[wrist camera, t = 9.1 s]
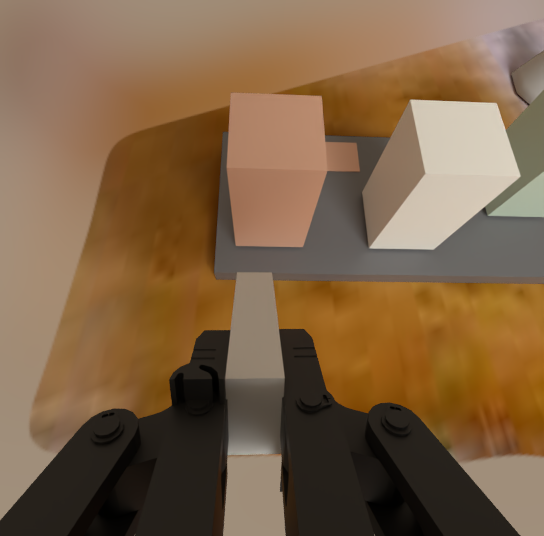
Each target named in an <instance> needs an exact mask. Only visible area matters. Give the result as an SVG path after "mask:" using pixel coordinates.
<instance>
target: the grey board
mask: <svg viewBox="0 0 544 536" xmlns="http://www.w3.org/2000/svg"><path fill="white" fill-rule="evenodd" d="M228 134H229V132H223V141H222V156H221V172H220V188H219V204H218V219H217V235H216V251H215V267H214V274H215V277H216V279H228V280H236V278H237V272H272V277H273V280H302V281H376V282H451V283H525V284H544V217H517V216H487V212H486V208H485V207H484V208H483V209H481V210H480V211H479V212H478V213H477V214H475V215H474V216H473V217H472V218H471V219H469V220H468V221H467V222H466V223H465V224H464V225H462V226H461V227H460V228H459V229H458V230H456V231H455V232H454V233H453V234H452V235H450V236H449V237H448V238H447V239H446V240H444V241H443V242H442V243H441V244H440V245H438V246H437V247H436V248H435V249H434V250H428V249H374V248H369V245H368V237H367V228H366V220H365V212H364V203H363V195H362V191H363V190H364V188H365V186H366V184H367V182H368V180H369V178H370V176H371V174H372V172H373V170H374V168H375V167H376V165H377V163H378V161H379V159H380V157H381V155H382V153H383V151H384V149H385V147H386V145H387V143H388V142H389V140H390V138H385V137H356V136H327V135H325V145H326V158H327V170H328V171H327V174H326V177H325V180H324V183H323V186H322V189H321V193H320V196H319V199H318V202H317V205H316V208H315V211H314V214H313V217H312V221H311V224H310V227H309V230H308V233H307V236H306V239H305V242H304V245H303V247H264V246H236V244H235V235H234V227H233V218H232V210H231V201H230V192H229V184H228V175H227V152H228Z"/></svg>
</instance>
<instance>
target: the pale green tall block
mask: <svg viewBox="0 0 544 536" xmlns="http://www.w3.org/2000/svg"><path fill="white" fill-rule="evenodd" d="M506 133H507V136H508V139H509V142H510V145H511V148H512V151H513V154H514V157H515V160H516V163H517V166H518V169H519V172H520V176H521V177H520V178H518V179H517V180H516V181H515V182H514V183H512V184H511V185H510V186H509V187H508V188H506V189H505V190H504V191H503V192H502V193H500V194H499V195H498V196H497V197H496V198H495V199H493V200H492V201H491V202H490V203H489V204H487V205H486V206H485V208H486V212H487V216H517V217H544V90H543V91H542V92H541V93H540V94H539V95H538V96H537V97H536V98H535V100H534V101H533V102H532V103H531V104H530V105H529V106H528V107H527V108H526V109H525V110H524V111H523V112H522V113H521V115H520V116H519V117H518V118H517V119H516V120H515V121H514V122H513V123H512V124H511V125H510V126H509V127H508V128H507V130H506Z"/></svg>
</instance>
